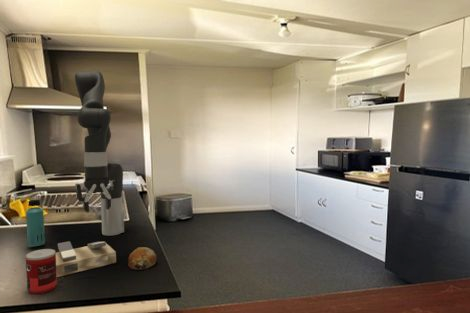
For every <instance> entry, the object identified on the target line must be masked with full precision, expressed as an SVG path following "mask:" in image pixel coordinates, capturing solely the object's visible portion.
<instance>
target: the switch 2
mask: <svg viewBox="0 0 470 313" xmlns="http://www.w3.org/2000/svg"><path fill="white" fill-rule="evenodd" d="M106 244H107V242H106V241H95V242H91V243H87V246H88V247H90V249H91V250H92V249H97V248H102V247H103V246H106Z"/></svg>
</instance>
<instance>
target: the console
mask: <svg viewBox="0 0 470 313" xmlns="http://www.w3.org/2000/svg"><path fill="white" fill-rule="evenodd" d="M73 249H74V251H75V253H76V259H72V260H67V261H63V260H62V257H61V256H60V252H59V251H57V252H56V251H55V253H56V274H57V278H59V277H64V276H67V275H72V274H76V273H79V272H83V271H87V270H92V269H96V268H101V267H104V266H108V265H111V264H115V263H117V251H116V250H114V249H113V248H112V246H110V245H109V244H107V243H106V246H103V247H102V248H97V249H92V250H91V249H90V247H88V246H82V247H77V248H73Z"/></svg>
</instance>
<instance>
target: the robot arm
mask: <svg viewBox="0 0 470 313" xmlns="http://www.w3.org/2000/svg"><path fill="white" fill-rule="evenodd" d="M74 83H75V86H76V89H77V93H78V96H79V99H80V102H81V105H82V106H81V107H80V109H79V111H78V113H77V122H78V124H79V126H80V127H82V128H84V129H87V135H86V136H85V137H84V159H83V160H84V163H83V164H84V166H83V167H84V182H82V183H75V184H74V186H75V193H76V194H75V195H76V199H77V201H79V202H82V203H83V206H82V208H83V210H84V211H85V213H90V202H89V200H90V198H91V197H92V195H93V194H97V193H100V207H101V209H100V210H101V211H100V212H101V234H102V235H103V236H117V235H120V234H121V233H125V214H124V212H123V198H122V197H123V196H122V194H123V189H124V188H123V186H124V185H123V184H124V170H123V167H122V165H121V164H120V163H110V162H108V155H107V148H108V146H109V144H110V141H111V137H112V132H111V127H110V123H111V119H112V118H111V113H110V112H109V110H108V109H107V108H104V94H105V89H106V88H105V85H106V84H105V79H104V76H103V73H101V71H99V70H89V71H78V72H75V74H74ZM108 186H109V188H108V189H107V187H108ZM84 187H85V188H86V191H85V194H84V196H83V194H82V190H83V189H84Z"/></svg>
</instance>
